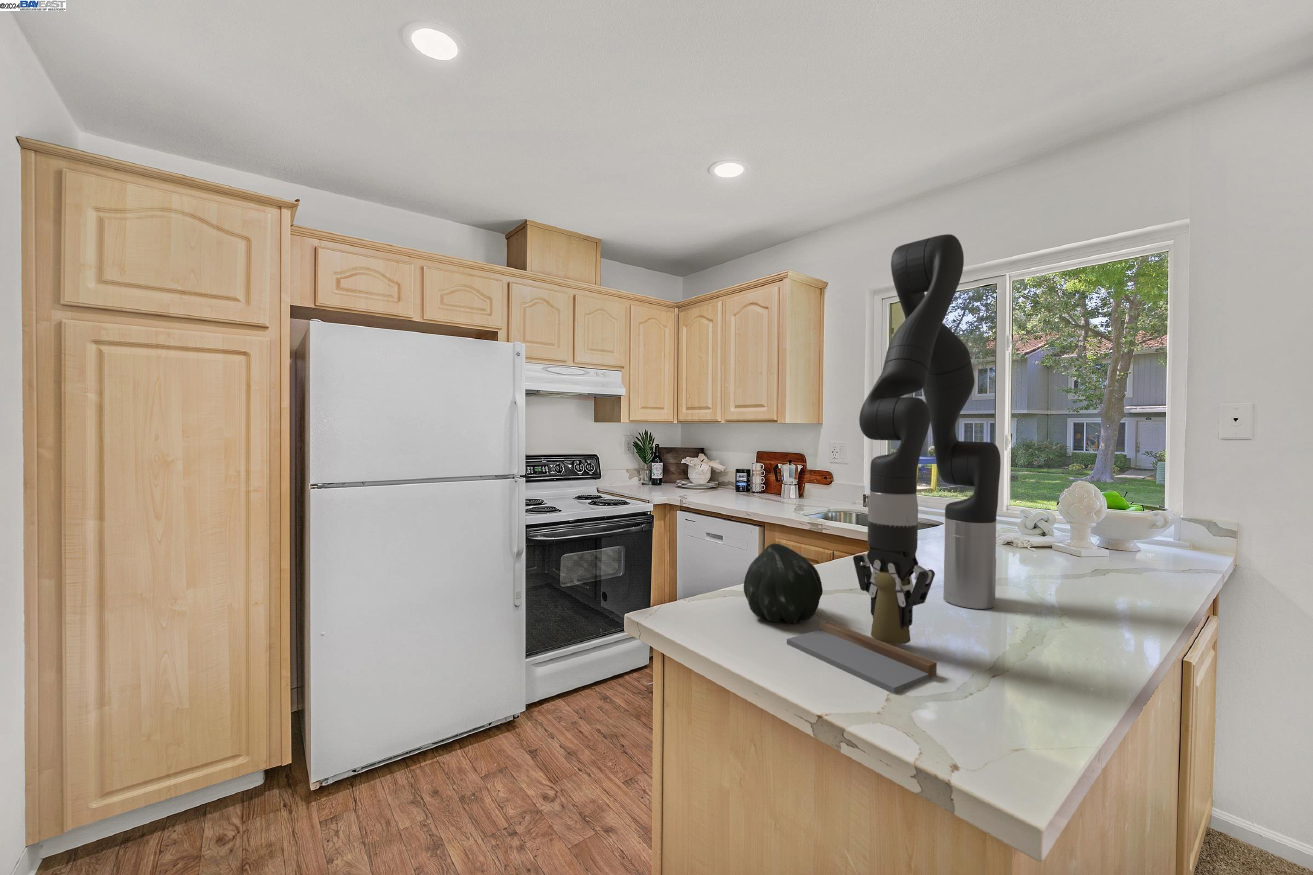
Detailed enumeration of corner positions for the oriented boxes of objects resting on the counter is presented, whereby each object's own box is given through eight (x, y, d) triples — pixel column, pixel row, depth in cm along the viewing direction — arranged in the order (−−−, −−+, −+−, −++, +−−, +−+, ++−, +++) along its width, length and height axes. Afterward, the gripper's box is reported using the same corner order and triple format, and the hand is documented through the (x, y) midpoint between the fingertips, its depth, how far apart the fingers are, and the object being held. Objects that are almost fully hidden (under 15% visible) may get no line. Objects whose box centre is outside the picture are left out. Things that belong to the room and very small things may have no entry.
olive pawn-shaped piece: (868, 639, 90) (869, 572, 89) (873, 627, 95) (874, 564, 95) (909, 646, 87) (910, 577, 86) (911, 634, 92) (912, 568, 92)
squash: (827, 578, 112) (778, 522, 112) (845, 605, 97) (788, 541, 97) (773, 622, 113) (725, 566, 114) (783, 655, 99) (727, 591, 99)
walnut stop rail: (827, 631, 98) (827, 620, 97) (936, 676, 81) (936, 662, 81) (819, 634, 96) (819, 622, 96) (928, 679, 80) (928, 665, 79)
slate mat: (819, 634, 96) (819, 629, 96) (928, 679, 80) (928, 673, 80) (786, 643, 92) (786, 638, 92) (894, 693, 75) (894, 687, 75)
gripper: (948, 524, 86) (945, 633, 87) (869, 511, 98) (868, 607, 99) (919, 528, 82) (917, 642, 83) (841, 515, 94) (840, 614, 95)
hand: (890, 622), depth 91 cm, fingers closed on olive pawn-shaped piece, 4 cm apart
